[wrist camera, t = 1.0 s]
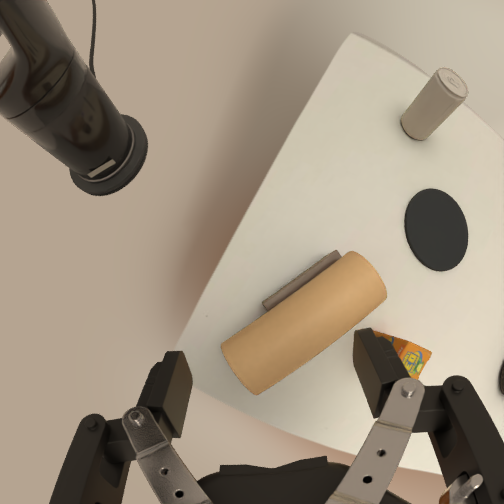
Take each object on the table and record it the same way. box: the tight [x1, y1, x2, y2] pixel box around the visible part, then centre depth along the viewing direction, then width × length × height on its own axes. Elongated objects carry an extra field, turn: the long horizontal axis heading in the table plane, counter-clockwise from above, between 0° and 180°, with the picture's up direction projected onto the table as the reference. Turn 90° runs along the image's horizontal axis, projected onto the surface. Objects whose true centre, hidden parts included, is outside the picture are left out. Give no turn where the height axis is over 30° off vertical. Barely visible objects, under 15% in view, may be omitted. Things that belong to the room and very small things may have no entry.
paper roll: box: [221, 251, 387, 395], centre depth 25 cm, size 6×14×6 cm, turn 125°
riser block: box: [262, 250, 341, 311], centre depth 30 cm, size 7×9×4 cm
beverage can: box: [401, 67, 468, 140], centre depth 29 cm, size 5×5×12 cm
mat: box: [405, 189, 468, 271], centre depth 32 cm, size 11×11×1 cm
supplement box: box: [373, 331, 432, 380], centre depth 26 cm, size 3×4×10 cm
